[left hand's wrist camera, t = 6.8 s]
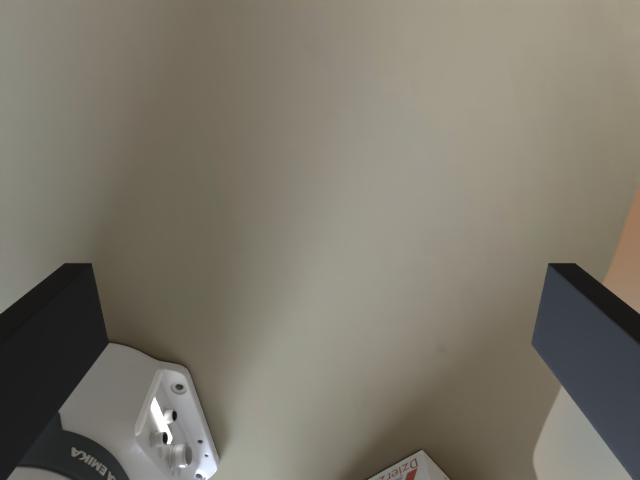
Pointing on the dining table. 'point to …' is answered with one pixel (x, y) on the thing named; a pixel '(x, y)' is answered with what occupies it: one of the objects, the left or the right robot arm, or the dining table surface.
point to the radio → (413, 469)
